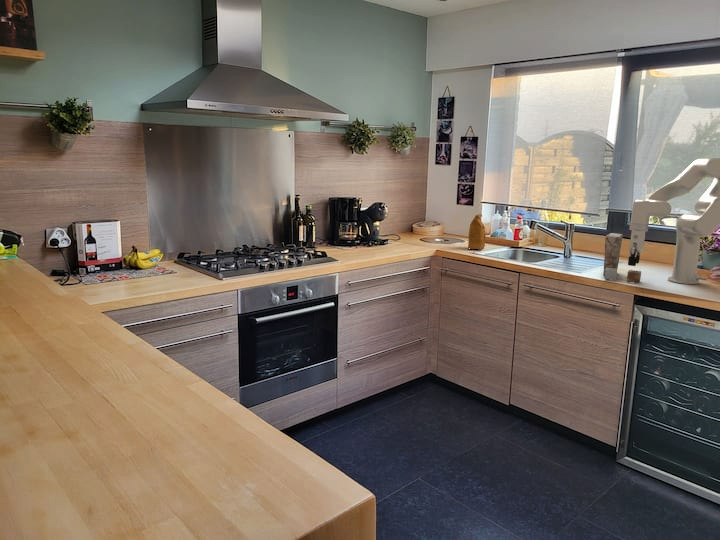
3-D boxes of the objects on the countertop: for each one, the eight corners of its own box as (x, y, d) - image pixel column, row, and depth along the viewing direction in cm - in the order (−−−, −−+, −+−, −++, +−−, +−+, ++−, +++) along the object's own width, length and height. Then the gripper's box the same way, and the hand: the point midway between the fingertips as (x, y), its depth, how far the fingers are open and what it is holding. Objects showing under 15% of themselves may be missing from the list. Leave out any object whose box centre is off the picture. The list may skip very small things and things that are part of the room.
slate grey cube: (615, 278, 262) (617, 268, 261) (616, 280, 257) (617, 270, 256) (604, 277, 264) (605, 267, 263) (604, 279, 259) (605, 269, 258)
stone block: (617, 277, 264) (621, 236, 260) (601, 276, 267) (605, 235, 263) (618, 272, 275) (623, 233, 272) (603, 271, 279) (607, 232, 275)
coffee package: (487, 248, 348) (489, 213, 343) (481, 251, 337) (483, 215, 333) (472, 247, 353) (473, 212, 348) (465, 249, 342) (467, 214, 338)
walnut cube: (640, 281, 256) (641, 271, 255) (638, 283, 251) (639, 273, 251) (628, 280, 258) (629, 270, 257) (626, 282, 254) (627, 271, 253)
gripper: (645, 229, 241) (639, 267, 244) (650, 227, 255) (644, 263, 258) (626, 227, 245) (621, 265, 248) (632, 225, 259) (627, 260, 262)
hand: (633, 264), depth 253 cm, fingers open, 9 cm apart
